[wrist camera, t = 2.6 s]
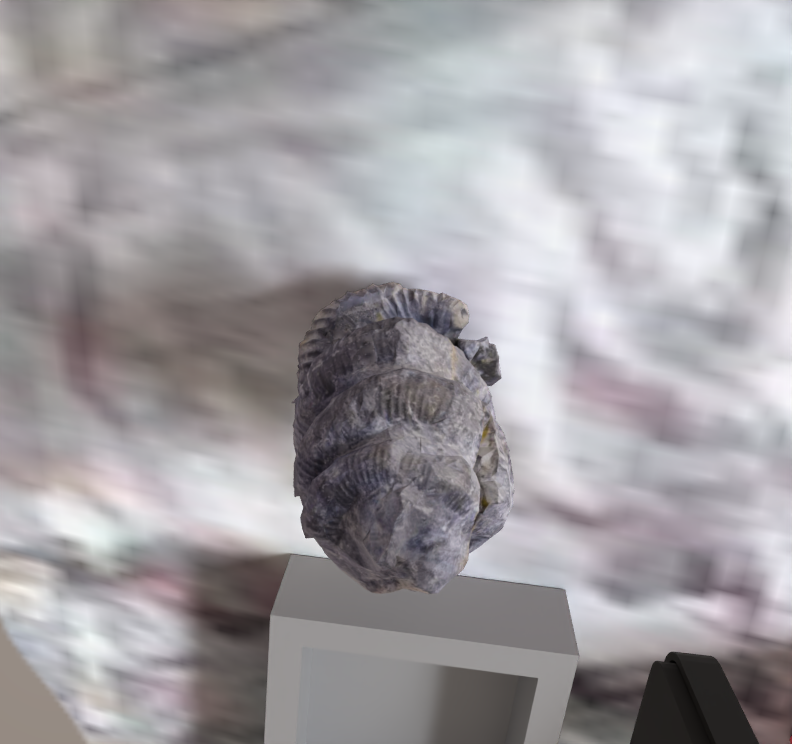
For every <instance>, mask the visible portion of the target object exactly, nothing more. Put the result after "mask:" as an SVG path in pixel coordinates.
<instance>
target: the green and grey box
mask: <svg viewBox="0 0 792 744" xmlns="http://www.w3.org/2000/svg"><path fill="white" fill-rule="evenodd" d="M578 659H579V653H578V648H577V643H576V639H575V634H574V629H573V624H572V620H571V615H570V610H569V606H568V601H567V596H566V591H565V590H563V589H556V588H548V587H540V586H532V585H525V584H517V583H509V582H502V581H494V580H486V579H479V578H471V577H463V576H455V577H454V578H453V579H452V580H450V581H449V582H448V583H447V584H446V585H445V586H444V587H443V588H442V589H441V591H440V592H439V593H436V594H426V593H422V592H414V591H410V590H407V589H401V590H398V591H395V592H391V593H384V594H377V593H372V592H370V591H368V590H366V589H365V588H363V587H362V586H361V585H359V584H358V583H357V582H356V581H354V580H353V579H352V578H351V577H349V576H348V575H347V574H346V573H344V572H343V571H342V570H340V569H339V568H338V567H337V566H336V564H335V563H334V562H333V561H332V560H331V559H325V558H317V557H310V556H302V555H294V554H291V556H290V559H289V562H288V565H287V568H286V571H285V574H284V576H283V579H282V582H281V585H280V588H279V591H278V594H277V597H276V600H275V603H274V606H273V609H272V611H271V614H270V631H269V652H268V673H267V694H266V714H265V735H264V744H558V740H559V736H560V732H561V728H562V724H563V720H564V716H565V712H566V708H567V704H568V700H569V696H570V692H571V687H572V683H573V679H574V675H575V671H576V667H577V663H578Z"/></svg>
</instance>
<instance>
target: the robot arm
mask: <svg viewBox="0 0 792 744" xmlns="http://www.w3.org/2000/svg"><path fill="white" fill-rule="evenodd" d="M630 744H759V743H758V741H757V739H756V737H755V735H754V733H753V731H752V728H751V726H750V724H749V722H748V720H747V718H746V716H745V714H744V712H743V710H742V708H741V706H740V704H739V702H738V700H737V698H736V696H735V694H734V692H733V690H732V688H731V686H730V684H729V682H728V680H727V678H726V676H725V674H724V672H723V670H722V668H721V666H720V664H719V663H718V661H717V660H716V659H715V658H714V657H712V656H705V655H696V654H688V653H679V652H670V653H669V654H668V655H667V656H666V658H665V661H664V662H661V661H655V662H654V663H653V665H652V667H651V670H650V674H649V677H648V681H647V685H646V688H645V692H644V695H643V699H642V702H641V706H640V709H639V713H638V717H637V720H636V724H635V727H634V731H633V734H632V738H631V742H630Z"/></svg>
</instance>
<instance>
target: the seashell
mask: <svg viewBox="0 0 792 744" xmlns="http://www.w3.org/2000/svg"><path fill="white" fill-rule="evenodd" d="M468 321H469V312H468V307H467V305H466V304H465V303H463V302H462V301H461V300H458V299H456V298H453V297H451V296H449V295H447V294H444V293H441V294H438V293H435V292H432V291H427V290H421V289H406V288H402V286H401V284H398V283H395V282H391V283H386V284H383V285H379V286H377V285H375V284H373V283H372V284H371V285H370V286H369V287H367V288H366V289H361V290H358V291H356V292H349V291H347V292H346V294H345V296H343V297H342V298H340V299H338V300H334V301H333V302H332V303H331V304H330V305H328V306H326V307H325V308H323V309H321V310H320V311H319V313H318V314H317V315H316V317H315V318H314V319H313V322H312V327H311V330H310V331H308V332H306V335H305V338H304V340H303V341H302V342H301V343H299V357H298V361H299V365H298V368H299V370H298V372H297V376H298V392H299V396H298V397H297V398H296V399H295V400H294V401H293V402H292V403H295V421H294V424H293V427H294V432H293V435H294V447H295V452H296V458H295V462H294V494H295V497H296V496H300V499H301V502H302V505H303V511H302V514H301V517H300V518H301V524H302V529H303V532H304V535H305V538H314V539H315V540H316V541H317V543H318V544H319V545H320V546H321V547H322V549H323V551H324V553H325V554H326V555H327V556H328V557H329V558H330V559H331V560H332V561H333V562H334V563H335V564H336V566H337V567H338V568H339V569H340V570H342V571H343V572H344V573H346V574H347V575H348V576H349V577H351V578H352V579H353V580H354V581H356V582H357V583H358V584H359V585H361V586H362V587H363V588H365V589H366V590H368V591H370V592H372V593H377V594H384V593H391V592H395V591H398V590H401V589H407V590H410V591H414V592H422V593H426V594H436V593H439V592H440V591H441V589H442V588H443V587H444V586H445V585H446V584H447V583H448V582H449V581H450V580H452V579H453V578H454V577H455V576H457V575H458V574H459V573H460V572H461V571H462V570H463V569H464V567H465V565H466V563H467V561H468V554H469V553H471V552H472V551H474V550H475V549H477V548H478V547H479V546H481V545H482V544H483V543H485V542H486V541H487V540H488V539H490V538H491V537H492V536H493V535H495V534H496V533H497V532H499V531H500V530H501V529H502V528H503V525H504V523H505V521H506V519H507V516H508V514H509V512H510V509H511V508H512V506H513V494H514V481H513V473H512V466H511V460H510V455H509V451H510V450H509V448H508V446H507V442H506V438H505V435H504V432H503V431H502V429H501V427H500V426H499V424H498V423H497V421H496V420H495V419H496V416H495V411H494V407H493V404H492V401H491V398H492V396H491V394H490V391H489V389H488V386H492V385H493V384H494V383H496V382H497V381H498V380H500V379H501V371H500V365H499V356H498V352H497V349H496V346H495V345H494V344H490V343H489V341H488V337H485V338H482V339H480V340H477V341H475V340H465V339H457V338H458V336H459V334H460V333H461V331H462V329H463V328H464V327H465V326H466V325H467V324H468Z"/></svg>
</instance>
